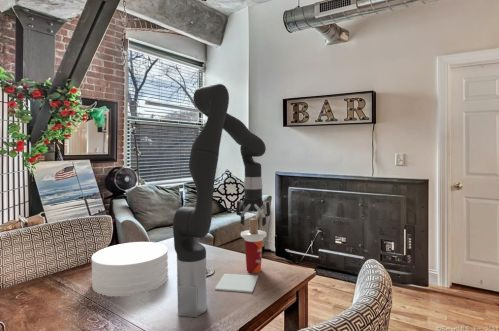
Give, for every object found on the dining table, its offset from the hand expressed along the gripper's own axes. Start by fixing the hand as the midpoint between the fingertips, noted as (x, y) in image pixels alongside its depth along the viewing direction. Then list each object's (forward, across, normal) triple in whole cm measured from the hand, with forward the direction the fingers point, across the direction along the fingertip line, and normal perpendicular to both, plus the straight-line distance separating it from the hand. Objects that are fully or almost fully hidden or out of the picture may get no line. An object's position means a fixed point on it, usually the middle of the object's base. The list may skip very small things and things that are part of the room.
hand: (253, 225), depth 135 cm
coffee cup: (+20, 0, 0) cm, 20 cm away
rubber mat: (+19, -4, -14) cm, 24 cm away
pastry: (+20, -22, -6) cm, 30 cm away
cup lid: (+4, 0, 0) cm, 4 cm away
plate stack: (+20, -46, -18) cm, 53 cm away
